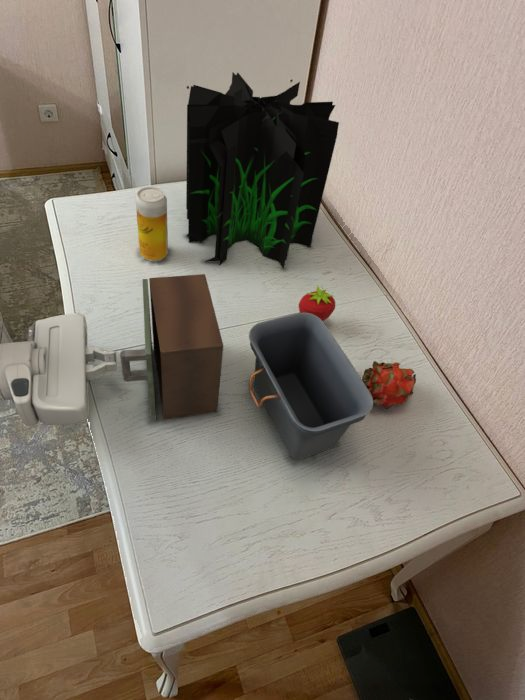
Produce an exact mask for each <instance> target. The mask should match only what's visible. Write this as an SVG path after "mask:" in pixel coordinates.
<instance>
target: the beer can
mask: <svg viewBox="0 0 525 700" xmlns="http://www.w3.org/2000/svg"><path fill="white" fill-rule="evenodd" d="M135 209H136V210H135V211H136V221H137V224H136V225H137V235H138V237H137V238H138V249H139V254H140V256H141V257H142V258H144V259H145V260H146V261H149V262H160V261H162V260H163V259H164V258H166V257H167V255H168V254H169V237H168V236H169V235H168V232H169V230H168V198H167V196H166V194H165V192H164V190H162V189H161V188H159V187H156V186H146V187H142V188H140V189H139V190H138V191H137V195H136V196H135Z"/></svg>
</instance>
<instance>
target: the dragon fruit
mask: <svg viewBox="0 0 525 700" xmlns="http://www.w3.org/2000/svg"><path fill="white" fill-rule="evenodd" d="M400 366H401V363H400V362H397V361H396V362H393V363H390V362H387V363H386V362H384V361H383V362H377V361H376V360H373V362H372V367H369V368H366V369H364V371H363V375H362V377H361V379H362V381H363V382H364V384H365V386H366V387H367V389H368V390H369V392H370V394H371V395H372V398H373V405H375V406H379V405H381V406H383V407H385V409H386V410H389V409H390V408H391V407H392V406H391V405H402V404H404V403H406V402H407V400H408V399H409V398H410V397H411V396H412V395H413V394H414V391H413V389H414V387H415V385H416V382H417V377H416V376H417V375H416V373H415V371H414V369H412V368H403V367H402V368H401V367H400Z"/></svg>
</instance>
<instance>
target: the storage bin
mask: <svg viewBox="0 0 525 700" xmlns="http://www.w3.org/2000/svg"><path fill="white" fill-rule="evenodd" d="M248 339H249V345H250V349H251V350H252V352H253V355H254V356H255V363H254V365H255V366H254V372H253V373H252V374H251V376H250V379H249V393H250V396H251V398H252V400H253V402H254V404H255V405H256V407H257V408H260V407H261V406H262V405H263V407H264V408H265V410H266V412H267V413H268V416H269V417H270V420H271V423H272V424H273V425H274V427H275V429H276V432H277V434H278V435H279V438H280V439H281V442H282V443H283V445H284V447H285V449H286V451H287V453H288V455H289V457H290V458H291V460H293V461H299V460H302V459H305V458H308V457H311V456H313V455H317V454H319V453H322V452H324V451H327V450H330V449H333V448H335V447H336V446H337V445H338V443H339V442H340V440H341V439H342V438H343V436H344V435H345V434H346V432H347V430H348V429H349V427H350V426H351V425H354V424H357V423H360V422H361V421H363V420H364V419H365V418H366V417H367V415H368V414H370V413H371V411H372V410H373V408H374V404H373V398H372V395H371V394H370V392H369V390H368V389H367V387H366V386H365V384H364V382H363V381H362V377H361V376H360V374H359V372H358V371H357V369H356V368H355V367H354V365H353V363H352V362H351V360H350V359H349V358H348V356H347V354H346V353H345V352H344V350H343V349H342V347H341V345H340V343H338V341H337V340H336V338H335V336H334V335H333V334H332V332H331V331H330V330H329V327H327V325H326V324H325V322H324V321H322V320H321V319H320V318H319V317H317V316H315V315H313V314H310V313H300V312H297V313H292V314H288V315H284V316H280V317H276V318H273V319H269V320H264V321H260V322H257V323H255V324H254V325H253V326H252V327H251V328H250V330H249V333H248ZM253 388H254V389H255V392H256V393H257V395H258V396H259V399H260V401H259V400H258V399H257V397H256V396H255V393H254V389H253ZM258 401H259V402H258Z"/></svg>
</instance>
